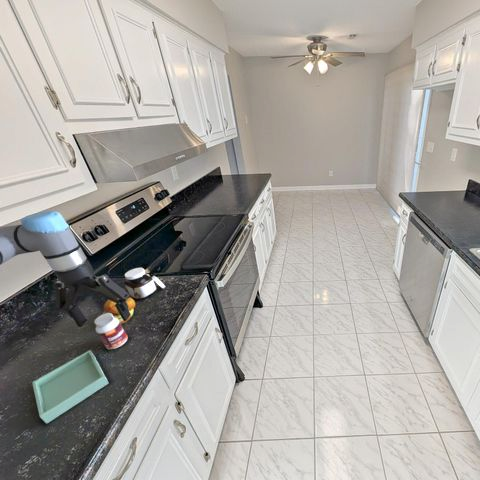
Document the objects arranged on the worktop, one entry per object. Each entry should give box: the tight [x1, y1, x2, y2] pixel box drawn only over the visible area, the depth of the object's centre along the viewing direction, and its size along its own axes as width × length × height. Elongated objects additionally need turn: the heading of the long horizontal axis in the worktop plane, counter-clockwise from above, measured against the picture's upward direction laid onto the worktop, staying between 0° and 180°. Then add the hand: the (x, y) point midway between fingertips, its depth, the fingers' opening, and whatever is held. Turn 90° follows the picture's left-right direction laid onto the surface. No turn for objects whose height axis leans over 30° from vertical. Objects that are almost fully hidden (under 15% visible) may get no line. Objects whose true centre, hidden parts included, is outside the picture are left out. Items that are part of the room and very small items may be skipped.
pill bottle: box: [94, 313, 128, 350], centre depth 83 cm, size 6×6×11 cm
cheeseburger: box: [101, 296, 137, 325], centre depth 95 cm, size 10×11×10 cm
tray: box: [32, 349, 110, 425], centre depth 72 cm, size 15×13×3 cm
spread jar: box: [124, 267, 167, 301], centre depth 108 cm, size 12×11×12 cm
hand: (105, 320), depth 81 cm, fingers open, 13 cm apart
